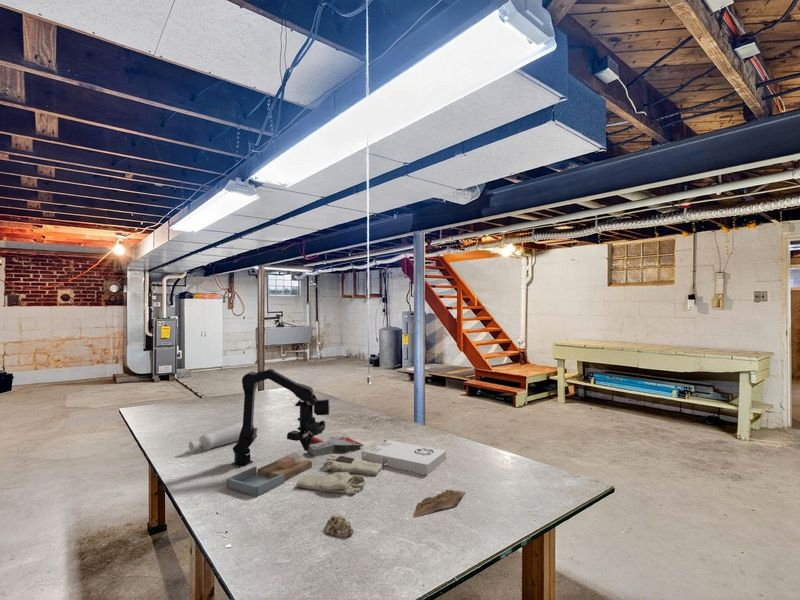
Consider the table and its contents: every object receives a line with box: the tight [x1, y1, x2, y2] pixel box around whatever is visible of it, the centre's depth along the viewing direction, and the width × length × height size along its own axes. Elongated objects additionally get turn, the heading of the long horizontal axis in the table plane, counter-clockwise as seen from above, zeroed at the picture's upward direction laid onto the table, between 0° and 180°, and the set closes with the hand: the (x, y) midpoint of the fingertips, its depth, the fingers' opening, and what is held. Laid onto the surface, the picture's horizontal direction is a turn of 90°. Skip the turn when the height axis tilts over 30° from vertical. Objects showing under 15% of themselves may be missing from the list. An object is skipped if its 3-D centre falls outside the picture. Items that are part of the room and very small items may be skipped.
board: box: [257, 458, 313, 482], centre depth 170 cm, size 14×17×2 cm
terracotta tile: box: [276, 455, 294, 468], centre depth 170 cm, size 5×5×2 cm
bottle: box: [188, 420, 243, 453], centre depth 203 cm, size 9×9×30 cm
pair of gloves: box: [296, 453, 383, 495], centre depth 163 cm, size 30×26×5 cm
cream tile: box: [285, 451, 304, 464], centre depth 175 cm, size 5×5×2 cm
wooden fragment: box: [412, 489, 466, 518], centre depth 141 cm, size 26×11×1 cm, turn 129°
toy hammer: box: [306, 435, 364, 458], centre depth 202 cm, size 24×4×30 cm
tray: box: [226, 466, 285, 498], centre depth 156 cm, size 16×14×4 cm
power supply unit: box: [361, 439, 447, 475], centre depth 181 cm, size 19×33×5 cm, turn 60°
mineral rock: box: [324, 515, 354, 538], centre depth 124 cm, size 11×4×8 cm
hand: (306, 450), depth 181 cm, fingers closed
